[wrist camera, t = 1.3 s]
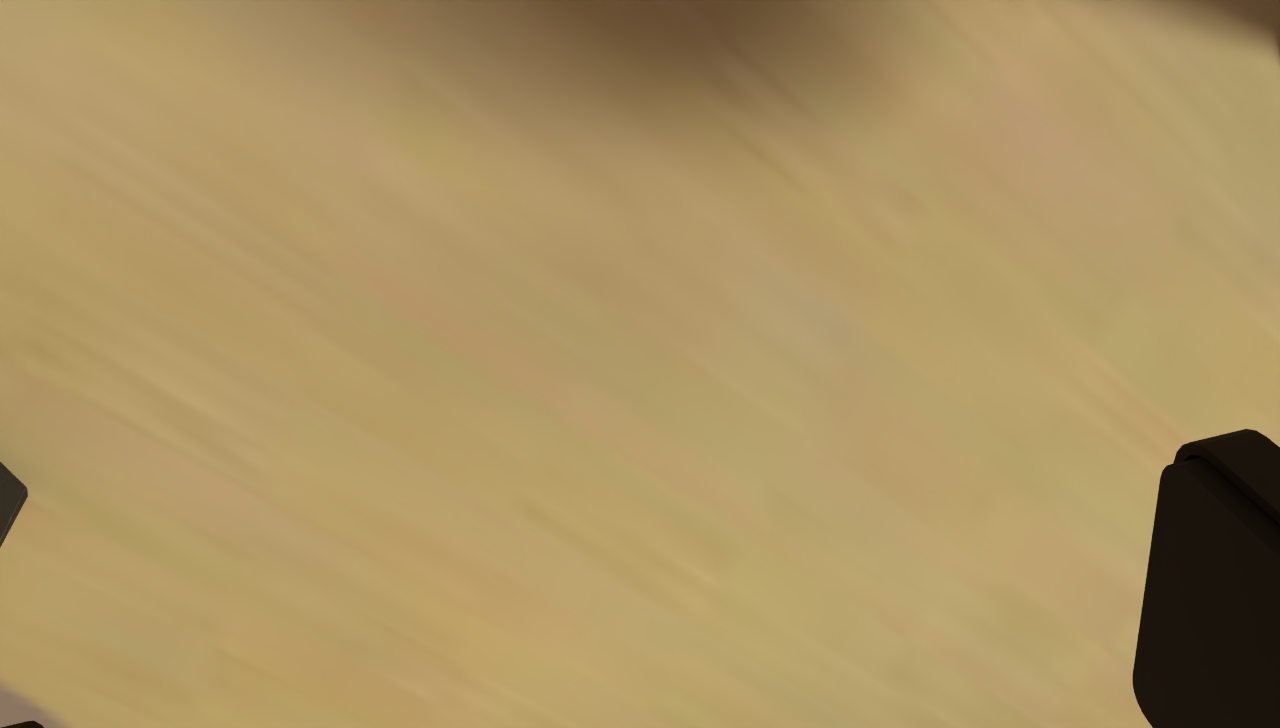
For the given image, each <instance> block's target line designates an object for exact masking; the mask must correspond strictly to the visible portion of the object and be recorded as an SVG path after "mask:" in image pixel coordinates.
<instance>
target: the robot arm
mask: <svg viewBox="0 0 1280 728" xmlns="http://www.w3.org/2000/svg"><path fill="white" fill-rule="evenodd" d="M1133 688H1134V693H1135V696H1136V699H1137V702H1138V704H1139V706H1140V708H1141V710H1142V713H1143V714H1144V716H1145V717H1146V719H1147V720H1148V722H1149V723H1150V724H1151V725H1152V727H1153V728H1280V447H1278V446H1277V445H1276V444H1275V443H1273V442H1272V441H1271V440H1270V439H1269V438H1267V437H1266V436H1264V435H1262V434H1261V433H1259V432H1257V431H1255V430H1249V429H1244V430H1240V431H1236V432H1232V433H1227V434H1223V435H1219V436H1215V437H1211V438H1207V439H1202V440H1198V441H1194V442H1190V443H1187V444H1184V445H1182V446H1181V448H1180V449H1179V450H1178V451H1177V453H1176V457H1175V460H1174V464H1171V465H1168V466H1166V467H1165V469H1164V470H1163V471H1162V475H1161V478H1160V485H1159V492H1158V499H1157V506H1156V513H1155V520H1154V527H1153V534H1152V542H1151V549H1150V556H1149V563H1148V570H1147V577H1146V584H1145V592H1144V599H1143V606H1142V613H1141V620H1140V627H1139V634H1138V641H1137V649H1136V656H1135V663H1134V670H1133ZM2 728H44V727H43V726H42V725H40V724H39V723H37V722H35V721H28V722H23V723H19V724H14V725H10V726H6V727H2Z"/></svg>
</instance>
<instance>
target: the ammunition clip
mask: <svg viewBox="0 0 1280 728" xmlns="http://www.w3.org/2000/svg"><path fill="white" fill-rule="evenodd" d="M27 497H28V492H27V487H26V486H25V485H24V484H23V483H22V482H21V481H20V480H18V479H17V478H16V477H15V476H14V475H13V474H12V473H11V472H10V471H9V470H8V469H7V468H6V467H5V466H4V465H3V464H2V463H1V462H0V547H1V545H2V543H3V541H4V540H5V538H6V536H7V534H8V532H9V530H10V528H11V526H12V525H13V523H14V521H15V519H16V517H17V515H18V513H19V511H20V510H21V508H22V506H23V504H24V502H25V500H26V498H27Z"/></svg>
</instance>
